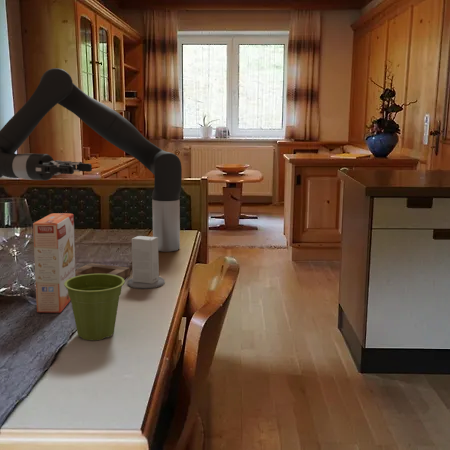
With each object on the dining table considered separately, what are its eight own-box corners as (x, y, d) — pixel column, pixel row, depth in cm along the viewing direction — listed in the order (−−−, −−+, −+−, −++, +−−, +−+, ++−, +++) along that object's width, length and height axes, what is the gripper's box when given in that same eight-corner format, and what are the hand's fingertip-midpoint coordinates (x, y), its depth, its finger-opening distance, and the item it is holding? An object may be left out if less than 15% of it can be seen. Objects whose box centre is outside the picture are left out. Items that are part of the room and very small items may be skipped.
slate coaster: (138, 276, 149) (138, 274, 148) (170, 280, 145) (170, 277, 145) (120, 286, 139) (120, 284, 139) (154, 290, 136) (154, 288, 136)
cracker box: (62, 313, 119) (58, 222, 115) (35, 313, 119) (30, 222, 115) (78, 294, 133) (74, 212, 129) (54, 294, 133) (49, 212, 129)
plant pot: (70, 350, 100) (68, 293, 98) (63, 328, 111) (60, 276, 108) (132, 340, 105) (130, 286, 102) (119, 320, 115) (117, 270, 113)
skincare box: (159, 279, 143) (158, 237, 141) (152, 284, 139) (151, 240, 137) (139, 277, 145) (138, 235, 143) (131, 281, 141) (130, 238, 139)
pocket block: (90, 271, 153) (90, 263, 153) (129, 275, 149) (129, 267, 148) (62, 283, 141) (62, 275, 141) (105, 289, 137) (104, 280, 136)
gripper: (15, 154, 143) (66, 156, 138) (49, 152, 156) (96, 153, 151) (17, 182, 144) (67, 185, 139) (50, 177, 157) (97, 179, 152)
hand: (82, 168), depth 145 cm, fingers open, 8 cm apart
